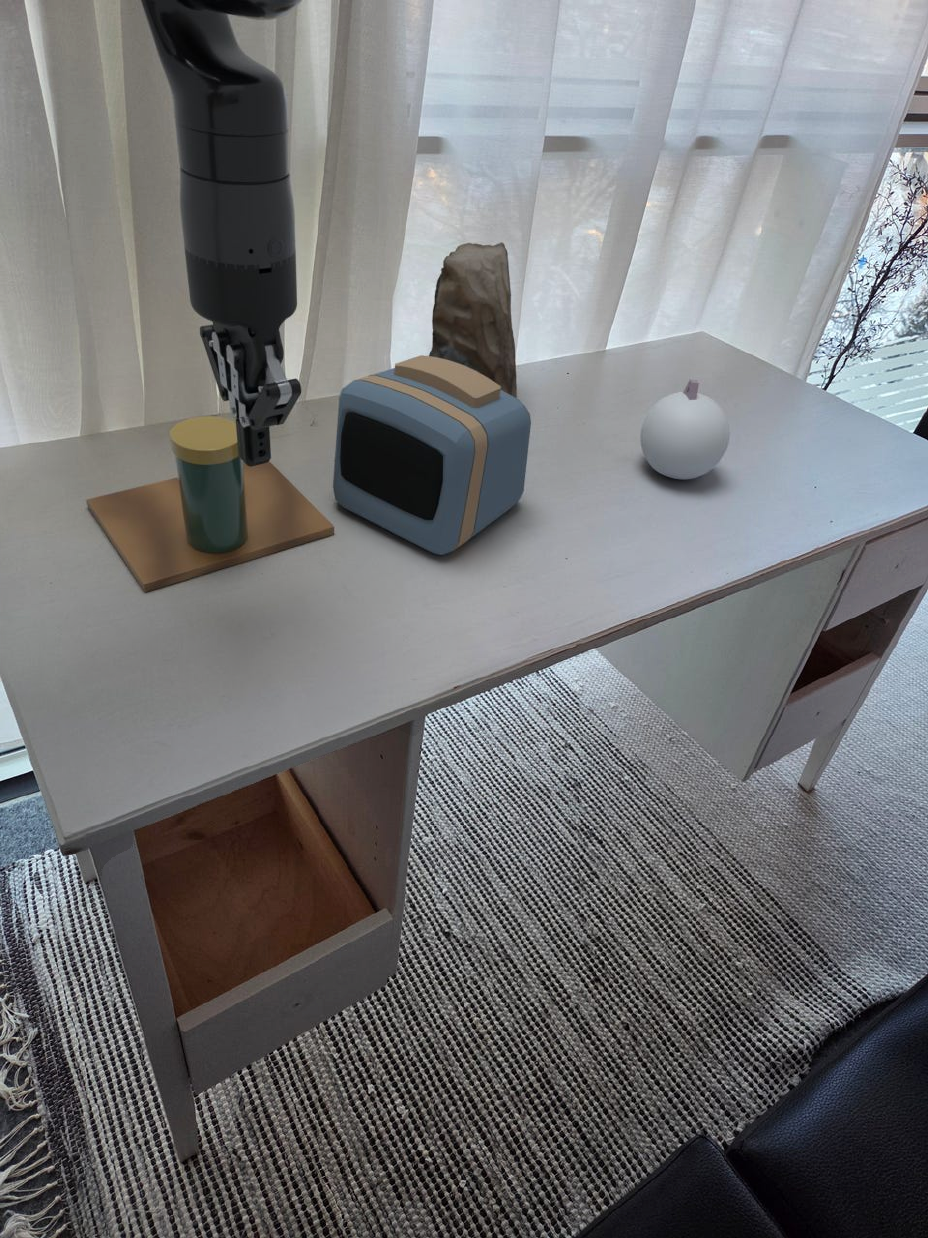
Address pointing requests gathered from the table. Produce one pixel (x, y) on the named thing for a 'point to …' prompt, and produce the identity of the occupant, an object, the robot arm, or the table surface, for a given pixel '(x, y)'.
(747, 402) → the table surface
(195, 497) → the jar
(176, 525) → the cork mat
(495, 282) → the jagged brown rock
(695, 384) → the ornament
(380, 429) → the alarm clock
